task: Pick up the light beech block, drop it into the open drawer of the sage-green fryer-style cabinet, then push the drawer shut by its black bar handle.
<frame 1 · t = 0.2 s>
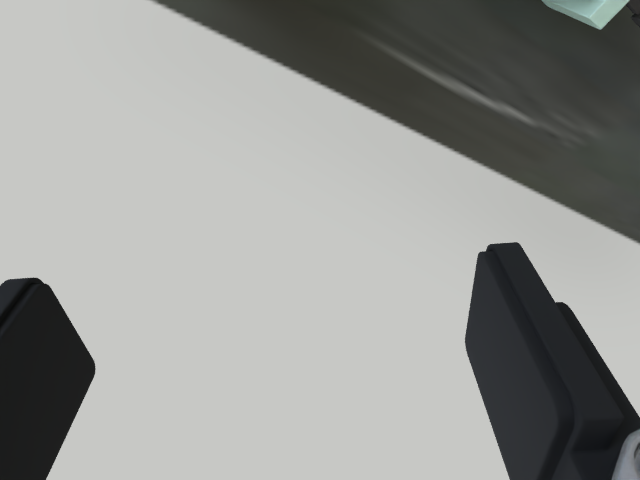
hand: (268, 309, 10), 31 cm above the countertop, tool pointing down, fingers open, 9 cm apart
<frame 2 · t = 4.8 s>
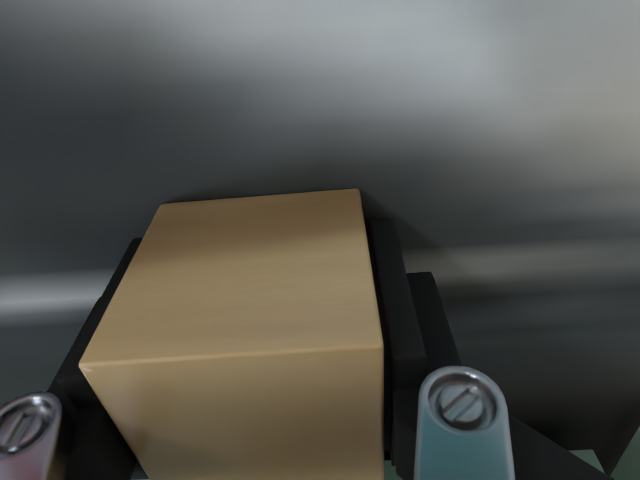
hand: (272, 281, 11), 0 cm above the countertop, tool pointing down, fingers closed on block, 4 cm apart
block: (273, 271, 11), on the countertop, touching gripper
when the fingers open (8 cm above the countertop, at t = 10.0 s): block drops 6 cm, resting on drawer.
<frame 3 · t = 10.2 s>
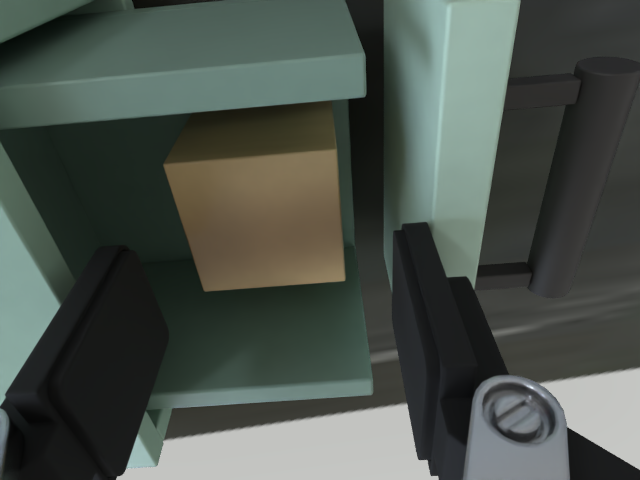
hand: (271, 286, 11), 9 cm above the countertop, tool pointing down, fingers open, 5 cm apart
block: (272, 157, 16), point 2 cm above the countertop, touching drawer
drawer: (287, 198, 14), point 5 cm above the countertop, slide at 8.1 cm, touching block
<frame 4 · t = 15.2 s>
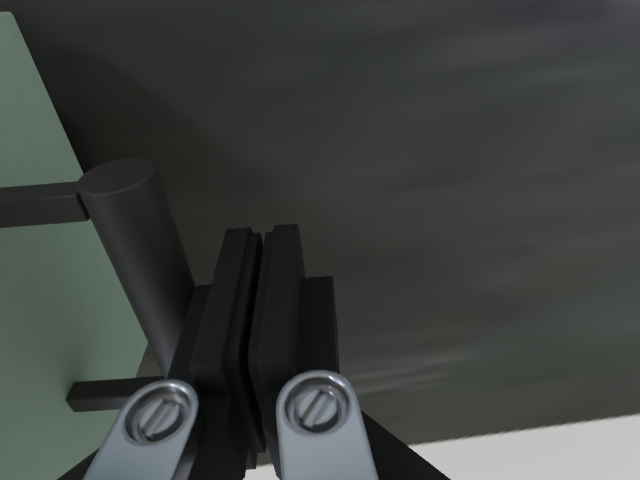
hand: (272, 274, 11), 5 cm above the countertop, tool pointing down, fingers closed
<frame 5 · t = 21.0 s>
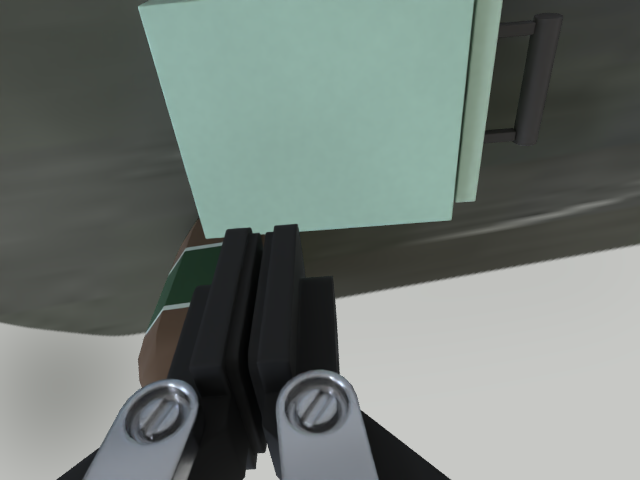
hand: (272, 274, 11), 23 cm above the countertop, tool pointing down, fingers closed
beer bottle: (228, 244, 40), on the countertop
drawer: (388, 90, 27), point 5 cm above the countertop, slide at 0.4 cm, touching block
cabinet: (317, 72, 31), on the countertop
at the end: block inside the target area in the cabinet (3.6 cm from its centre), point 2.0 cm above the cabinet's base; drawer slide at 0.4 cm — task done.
